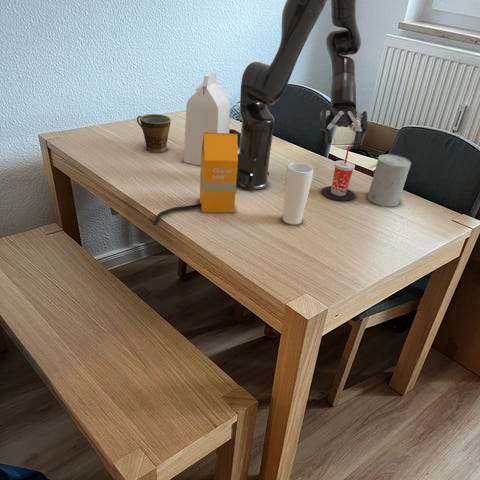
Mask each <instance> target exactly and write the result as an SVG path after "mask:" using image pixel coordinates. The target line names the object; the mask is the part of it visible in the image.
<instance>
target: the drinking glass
mask: <svg viewBox="0 0 480 480" xmlns="http://www.w3.org/2000/svg"><path fill="white" fill-rule="evenodd" d="M313 178H314V167H313V166H312V165H310V164H308V163H305V162H291V163H289V164H288V165H287V169H286V174H285V180H284V195H283V211H282V216H281V217H282V221H283V222H284V223H285V224H288V225H293V226H294V225H299V224H301V223H302V221H303V216H304V212H305V209H306V205H307V201H308V198H309V194H310V190H311V187H312V182H313Z"/></svg>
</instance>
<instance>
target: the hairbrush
mask: <svg viewBox="0 0 480 480" xmlns="http://www.w3.org/2000/svg"><path fill="white" fill-rule="evenodd" d="M229 134H237V140H238V148H240V137H241V132H239V130H236V129H233V128H229Z"/></svg>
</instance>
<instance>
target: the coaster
mask: <svg viewBox="0 0 480 480" xmlns="http://www.w3.org/2000/svg"><path fill="white" fill-rule="evenodd" d="M331 188H332V185H330V186H325V187H322V189H321V194H322V195H323V196H324V197H325V198H327V199H329V200H332V201H336V202H349V201H353V199H354V198H355V194H354V192H353V191H352V190H350V189H348V188H347V191H346V195H344V196H338V195H334V194H332V193H331Z"/></svg>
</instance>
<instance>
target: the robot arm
mask: <svg viewBox="0 0 480 480" xmlns="http://www.w3.org/2000/svg"><path fill="white" fill-rule="evenodd" d="M327 1H328V0H286V1H285V3H284V5H283V8H282V13H281V24H280V25H281V30H280V42H279V46H278V49H277V51H276V54H275V55H274V58H273V60H272V62H271V63H270V64H267V63H263V62H261V61H252V62H250V63H249V64H248V65H247V66H246V67H245V69H244V70H243V72H242V76H241V81H240V82H241V83H240V97H239V98H240V99H239V114H240V118H241V125H240V128H241V129H240V133H241V137H240V147H239V149H238V168H237V179H236V186H237V187H241V188H243V189H245V190H248V191H253V190H262V189H264V188H266V187H267V185H268V177H269V175H270V172H269V166H270V158H271V150H272V143H273V136H274V135H273V134H274V128H275V118H274V116H273V114H272V113H271V112H270V111H269V108H268V106H273V105H274V104H276V103H278V101H279V100H280V99H281V97H282V96H283V95H284V93H285V91H286V89H287V87H288V84H289V81H290V79H291V76H292V74H293V71H294V70H295V67H296V64H297V62H298V59H299V57H300V55H301V53H302V51H303V49H304V47H305V44H306V43H307V40H308V39H309V36H310V35H311V32H312V31H313V29H314V27H315V25H316V23H317V21H318V19H319V18H320V16H321V13H322V12H323V10H324V8H325V5H326V3H327ZM356 10H357V0H330V21H331V24H332V25H333V26H334V27H337V28H342V29H339V30H338V29H336V30H332V31H330V32H329V33H327V35H326V38H325V43H324V44H325V50H326V53H327V56H328V59H329V62H330V69H331V70H330V71H331V82H330V92H329V93H330V110H327V109H326V107H323V108H322V109H321V111H320V114H319V125H318V126H319V127H318V130H319V131H320V132H324V133H325V143H326V145H327V146H330V145H332V142H333V128H334V127H335V126H337V128H341V127H342V128H348V129H350V131H352V132H353V133H354V147H355V148H358V147H359V146H360V145H361V143H362V135H365V134H366V132H367V131H368V130H369V124H368V123H369V122H368V112H367V111H366V110H364V111H363V112H358V111H357V81H356V62H355V60H354V59H353V58H352V57H350V56H353V55H355V54H357V53H358V52H359V51H360V49H361V46H362V38H361V33H360V30H359V26H358V22H357V14H356V13H357V11H356ZM328 117H329V118H330V120H331V122H330V123H329V124H328V125H326V122H327V118H328ZM357 119H358V120H357ZM359 122H360V124H359ZM196 208H201V203H200V202H199V203H195V204H189V205H183V206H182V205H181V206H176V207H171V208H168V209H164V210H163V211H160V212H159V213H158V214H157V215H156V217H155V218H154V220H153V222H152V225H153V226H156V225H158V223H159V220H160V219H161V218H162V216H164V215H167V214H169V213H173V212H176V211H183V210H184V211H185V210H193V209H196Z"/></svg>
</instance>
